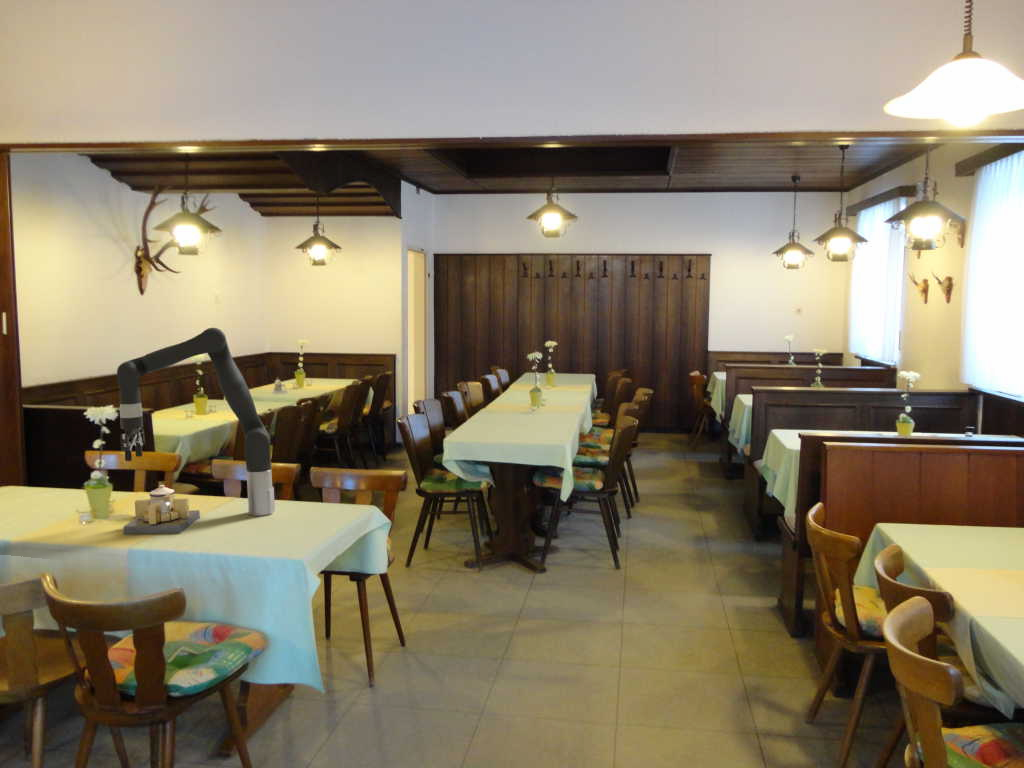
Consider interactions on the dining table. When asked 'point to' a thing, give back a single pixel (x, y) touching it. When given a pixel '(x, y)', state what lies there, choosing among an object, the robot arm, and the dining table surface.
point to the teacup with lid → (160, 493)
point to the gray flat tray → (162, 527)
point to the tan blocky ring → (153, 511)
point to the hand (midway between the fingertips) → (134, 458)
